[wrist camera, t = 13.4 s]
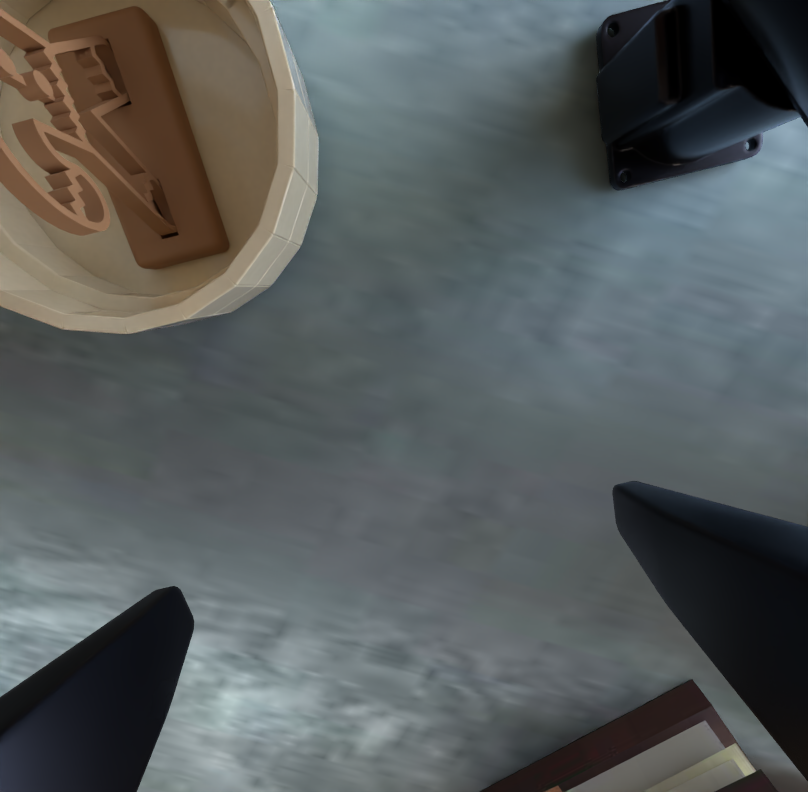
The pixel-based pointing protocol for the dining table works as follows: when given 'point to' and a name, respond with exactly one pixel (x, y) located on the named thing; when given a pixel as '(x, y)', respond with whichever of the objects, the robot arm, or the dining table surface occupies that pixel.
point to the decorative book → (648, 754)
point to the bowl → (222, 158)
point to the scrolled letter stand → (111, 138)
